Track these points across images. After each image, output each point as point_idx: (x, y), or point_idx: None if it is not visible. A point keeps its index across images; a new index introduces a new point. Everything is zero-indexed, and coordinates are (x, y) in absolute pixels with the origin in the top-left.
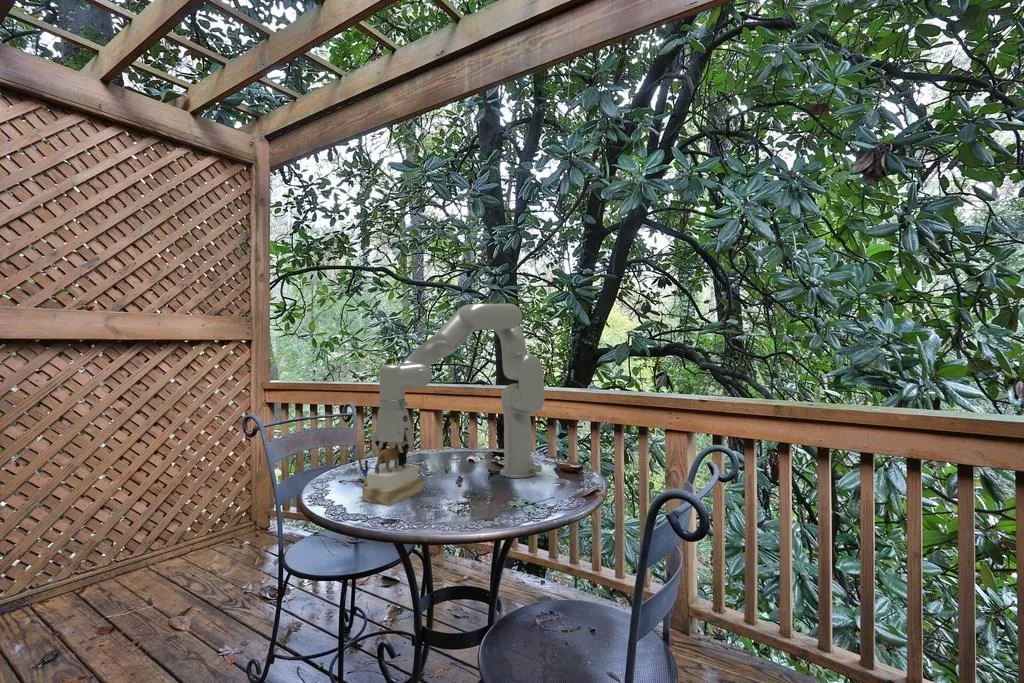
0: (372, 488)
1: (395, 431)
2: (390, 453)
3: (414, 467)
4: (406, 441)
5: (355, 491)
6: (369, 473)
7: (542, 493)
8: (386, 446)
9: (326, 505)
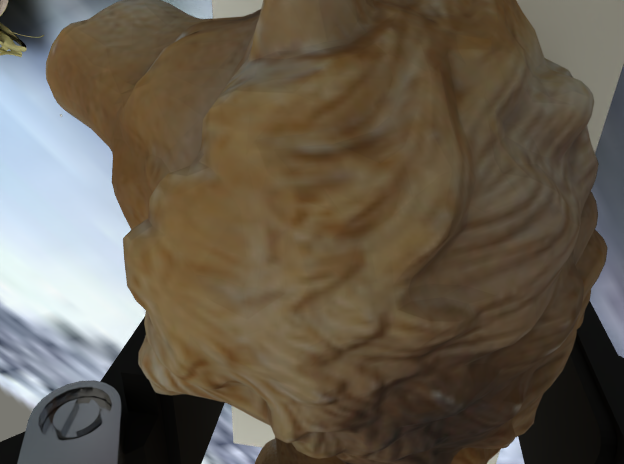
0: None
1: None
2: None
3: (617, 68)
4: (573, 278)
5: (50, 157)
6: (244, 433)
7: None
8: (124, 449)
9: None
